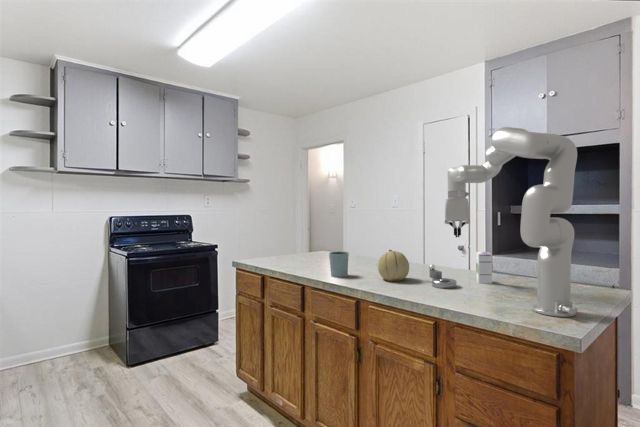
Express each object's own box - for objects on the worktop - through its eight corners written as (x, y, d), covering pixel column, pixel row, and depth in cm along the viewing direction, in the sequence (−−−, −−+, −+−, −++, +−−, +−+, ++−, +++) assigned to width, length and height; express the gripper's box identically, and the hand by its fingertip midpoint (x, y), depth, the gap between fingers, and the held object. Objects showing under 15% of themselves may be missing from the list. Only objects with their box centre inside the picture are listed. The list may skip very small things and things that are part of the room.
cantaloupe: (395, 286, 166) (395, 253, 166) (371, 281, 178) (371, 250, 177) (416, 282, 176) (416, 250, 175) (391, 277, 187) (391, 247, 187)
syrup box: (492, 286, 166) (492, 253, 165) (478, 285, 167) (478, 253, 166) (489, 283, 171) (489, 251, 171) (475, 283, 172) (475, 251, 172)
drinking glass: (352, 276, 190) (351, 253, 190) (333, 278, 187) (333, 254, 186) (343, 273, 200) (343, 250, 199) (326, 275, 196) (325, 252, 196)
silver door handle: (461, 288, 158) (461, 269, 158) (439, 289, 156) (439, 270, 156) (440, 280, 174) (440, 263, 174) (420, 281, 172) (420, 264, 172)
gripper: (474, 195, 167) (475, 236, 167) (439, 196, 172) (440, 236, 173) (475, 194, 160) (476, 237, 160) (438, 195, 165) (439, 237, 166)
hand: (457, 237), depth 166 cm, fingers closed
